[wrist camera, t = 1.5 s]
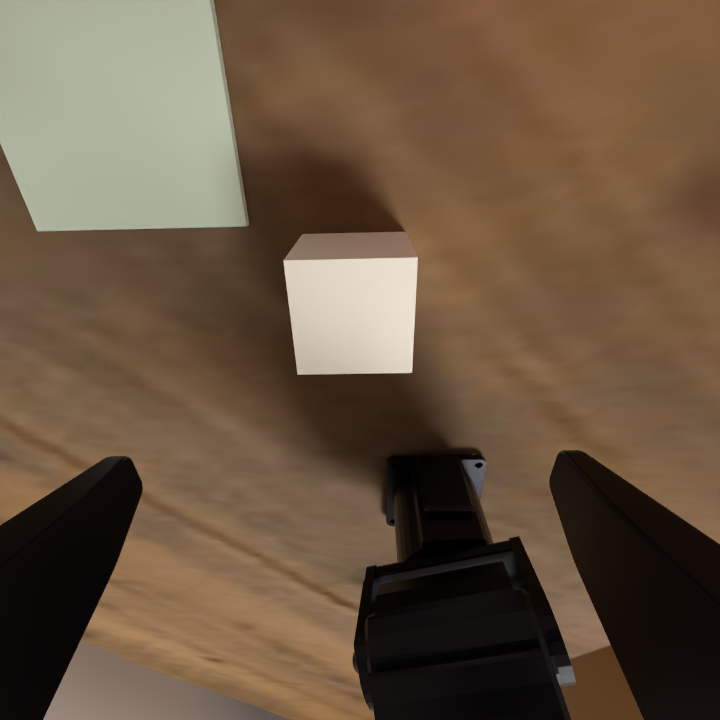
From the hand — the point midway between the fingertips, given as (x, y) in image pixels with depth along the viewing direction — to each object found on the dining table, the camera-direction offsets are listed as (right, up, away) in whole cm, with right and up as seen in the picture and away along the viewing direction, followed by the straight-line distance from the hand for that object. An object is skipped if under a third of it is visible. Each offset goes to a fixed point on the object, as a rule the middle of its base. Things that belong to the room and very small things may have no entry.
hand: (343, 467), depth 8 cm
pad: (-10, +13, +8) cm, 18 cm away
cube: (0, +6, +12) cm, 13 cm away
